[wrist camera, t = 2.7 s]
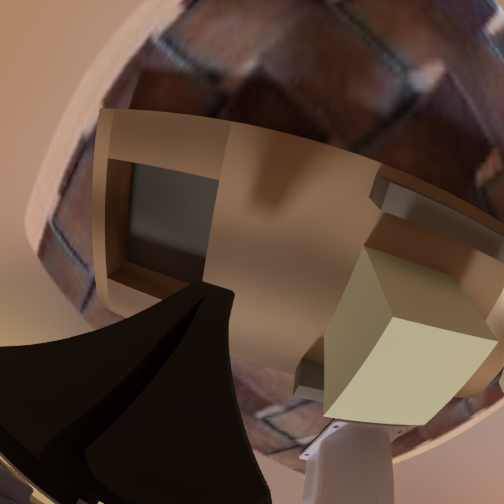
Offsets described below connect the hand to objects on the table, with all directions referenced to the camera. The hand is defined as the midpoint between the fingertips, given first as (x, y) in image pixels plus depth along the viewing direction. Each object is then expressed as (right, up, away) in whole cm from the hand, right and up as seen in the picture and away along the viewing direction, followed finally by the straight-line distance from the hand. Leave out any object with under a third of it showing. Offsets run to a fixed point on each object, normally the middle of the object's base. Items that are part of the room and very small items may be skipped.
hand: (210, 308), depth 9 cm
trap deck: (+7, +1, +5) cm, 9 cm away
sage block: (+8, -1, +3) cm, 8 cm away
